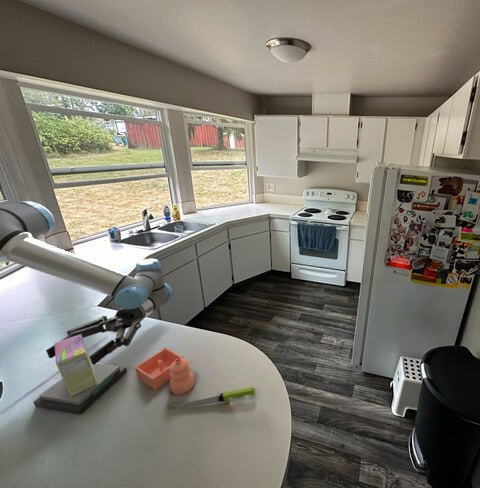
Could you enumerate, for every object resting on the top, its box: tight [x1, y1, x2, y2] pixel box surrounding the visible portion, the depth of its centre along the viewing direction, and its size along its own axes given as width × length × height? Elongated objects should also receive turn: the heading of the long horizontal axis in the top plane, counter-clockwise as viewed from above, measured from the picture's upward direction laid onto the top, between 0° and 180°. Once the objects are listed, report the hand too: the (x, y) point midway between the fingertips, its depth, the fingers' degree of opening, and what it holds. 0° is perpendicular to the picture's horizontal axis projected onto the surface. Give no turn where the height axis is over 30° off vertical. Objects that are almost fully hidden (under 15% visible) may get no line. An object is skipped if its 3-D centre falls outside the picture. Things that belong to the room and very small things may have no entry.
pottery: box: [134, 347, 196, 396], centre depth 76 cm, size 18×10×10 cm, turn 63°
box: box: [53, 334, 97, 397], centre depth 70 cm, size 10×6×12 cm, turn 47°
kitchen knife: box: [170, 386, 256, 409], centre depth 70 cm, size 22×1×3 cm, turn 101°
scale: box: [33, 362, 128, 416], centre depth 73 cm, size 14×14×3 cm
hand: (69, 357), depth 69 cm, fingers open, 13 cm apart
